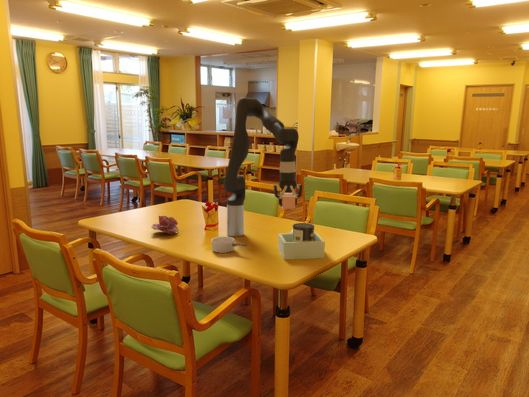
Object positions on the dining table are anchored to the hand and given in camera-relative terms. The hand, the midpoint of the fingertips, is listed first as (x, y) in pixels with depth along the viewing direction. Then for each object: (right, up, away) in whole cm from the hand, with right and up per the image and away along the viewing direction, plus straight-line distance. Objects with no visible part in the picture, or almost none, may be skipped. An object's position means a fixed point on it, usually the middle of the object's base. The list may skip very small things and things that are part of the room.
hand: (287, 205), depth 198 cm
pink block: (0, -1, 0) cm, 1 cm away
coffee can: (+7, -23, +1) cm, 24 cm away
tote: (+6, -23, +1) cm, 24 cm away
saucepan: (-28, -23, +3) cm, 36 cm away
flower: (-67, -16, +35) cm, 77 cm away
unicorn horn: (+10, -20, +21) cm, 31 cm away
